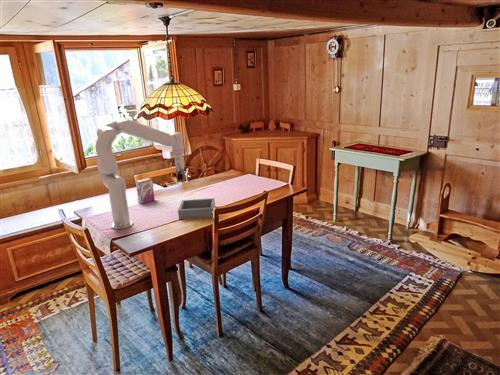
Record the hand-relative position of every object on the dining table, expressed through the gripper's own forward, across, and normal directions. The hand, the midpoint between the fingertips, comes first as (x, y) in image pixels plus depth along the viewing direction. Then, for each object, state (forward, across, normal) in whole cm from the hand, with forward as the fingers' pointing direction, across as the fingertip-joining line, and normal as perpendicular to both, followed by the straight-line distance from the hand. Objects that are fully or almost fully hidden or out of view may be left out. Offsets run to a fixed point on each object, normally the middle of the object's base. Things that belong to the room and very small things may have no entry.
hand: (180, 178), depth 239 cm
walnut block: (+2, 0, 0) cm, 2 cm away
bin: (+21, -10, -10) cm, 26 cm away
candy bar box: (+22, +22, +29) cm, 43 cm away
